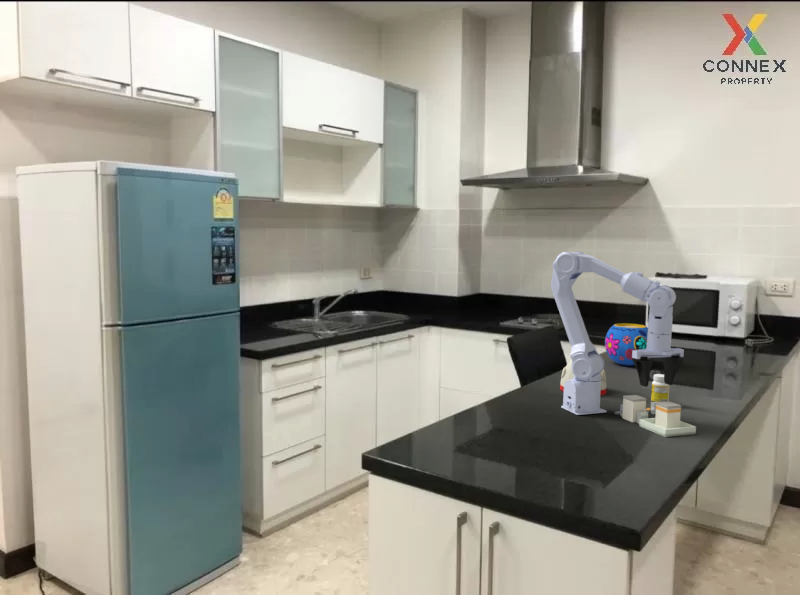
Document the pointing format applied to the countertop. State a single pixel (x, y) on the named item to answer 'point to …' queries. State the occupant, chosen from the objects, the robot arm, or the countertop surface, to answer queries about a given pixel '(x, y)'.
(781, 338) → the countertop surface
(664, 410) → the white box with band
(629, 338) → the ceramic pot
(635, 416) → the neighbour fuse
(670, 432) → the tray
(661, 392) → the supplement bottle
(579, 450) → the countertop surface
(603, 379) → the kitchen timer
